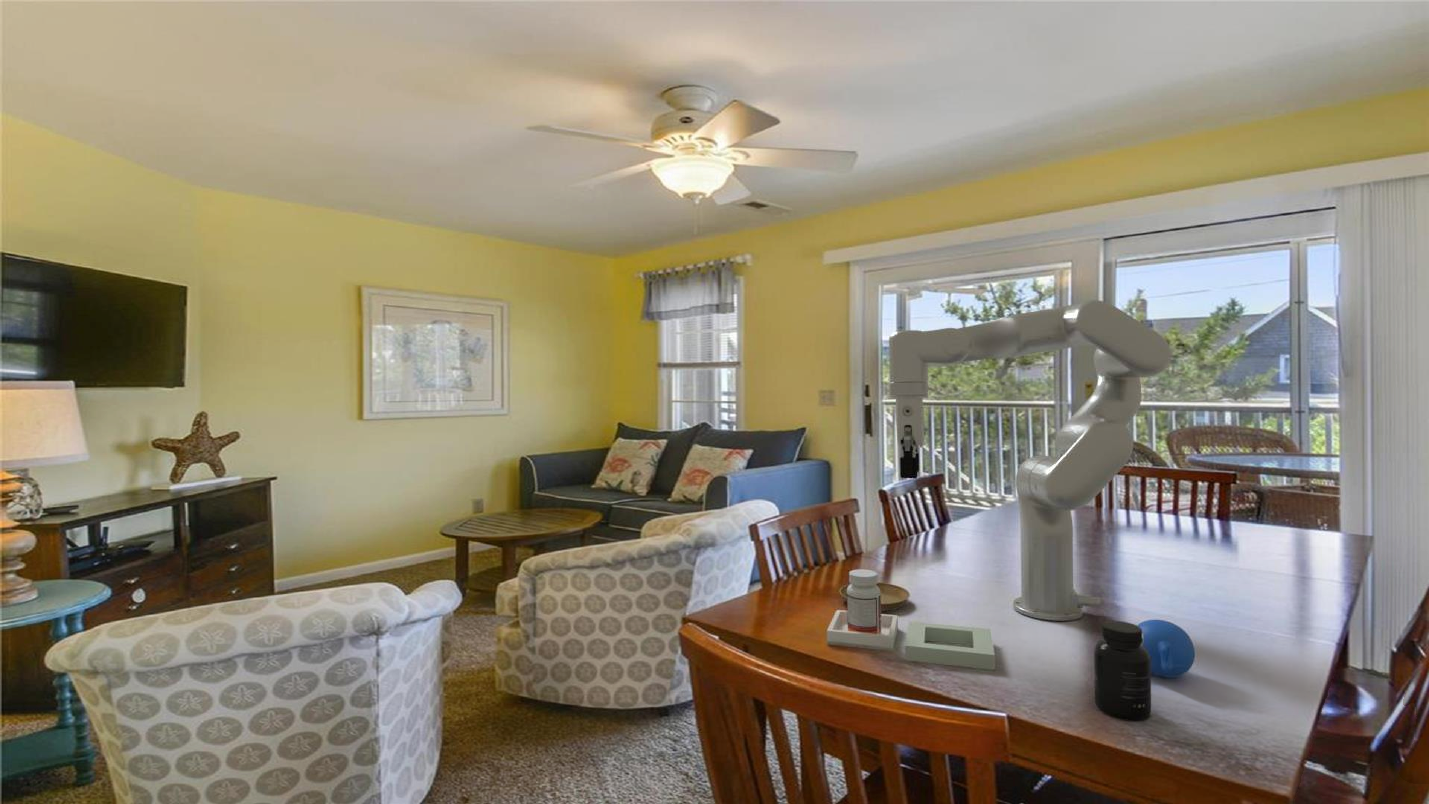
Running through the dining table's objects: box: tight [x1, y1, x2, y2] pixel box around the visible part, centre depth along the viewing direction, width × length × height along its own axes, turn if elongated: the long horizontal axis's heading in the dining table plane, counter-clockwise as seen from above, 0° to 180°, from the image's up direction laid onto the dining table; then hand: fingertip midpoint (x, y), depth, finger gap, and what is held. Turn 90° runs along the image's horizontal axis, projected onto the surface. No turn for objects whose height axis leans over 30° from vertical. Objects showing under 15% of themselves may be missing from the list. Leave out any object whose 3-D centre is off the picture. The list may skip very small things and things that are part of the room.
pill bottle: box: [846, 568, 882, 634], centre depth 122 cm, size 6×6×11 cm
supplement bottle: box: [1093, 620, 1152, 722], centre depth 92 cm, size 7×7×12 cm
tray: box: [826, 609, 899, 652], centre depth 122 cm, size 12×12×2 cm
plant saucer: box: [839, 581, 911, 612], centre depth 141 cm, size 15×15×3 cm
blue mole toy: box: [1136, 619, 1196, 678], centre depth 104 cm, size 12×12×8 cm
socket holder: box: [904, 621, 996, 671], centre depth 114 cm, size 14×12×2 cm
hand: (910, 474), depth 134 cm, fingers open, 9 cm apart
